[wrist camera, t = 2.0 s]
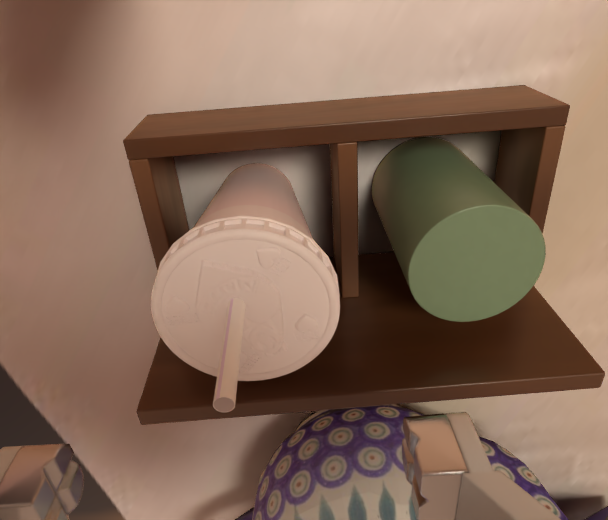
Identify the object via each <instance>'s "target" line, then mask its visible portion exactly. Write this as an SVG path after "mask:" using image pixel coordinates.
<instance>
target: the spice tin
mask: <svg viewBox="0 0 608 520" xmlns="http://www.w3.org/2000/svg"><path fill="white" fill-rule="evenodd" d="M372 197H373V202H374V204H375V207H376V209H377V212H378V214H379V217H380V219H381V221H382V224H383V226H384V229H385V231H386V233H387V236H388V238H389V241H390V243H391V245H392V248H393V250H394V253H395V255H396V257H397V260H398V262H399V265H400V267H401V269H402V272H403V274H404V277H405V279H406V281H407V284H408V286H409V289H410V291H411V293H412V295H413V297H414V299H415V300H416V302H417V303H418V304H419V305H420V306H421V307H422V308H423V309H424V310H426V311H427V312H429V313H430V314H432V315H434V316H436V317H438V318H441V319H444V320H449V321H456V322H470V321H477V320H482V319H486V318H489V317H492V316H494V315H497V314H499V313H501V312H503V311H505V310H507V309H508V308H510V307H511V306H513V305H514V304H516V303H517V302H518V301H519V300H521V299H522V298H523V297H524V296H525V295H526V294H527V293H528V292H529V291H530V289H531V288H532V287H533V286H534V284H535V283H536V281H537V279H538V278H539V275H540V273H541V271H542V268H543V265H544V261H545V242H544V238H543V235H542V232H541V230H540V229H539V227H538V225H537V224H536V223H535V222H534V220H533V219H532V218H531V217H530V216H529V215H527V214H526V213H525V212H524V211H523V210H522V209H521V208H520V207H519V206H518V205H517V204H516V203H515V202H514V201H513V200H512V199H511V198H510V197H509V196H508V195H507V194H506V193H504V192H503V191H502V190H501V189H500V188H499V187H498V186H497V185H496V184H495V183H494V182H493V181H492V180H491V179H490V178H489V177H488V176H487V175H486V174H485V173H484V172H483V171H482V170H480V169H479V168H478V167H477V166H476V165H475V164H474V163H473V162H472V161H471V160H470V159H469V158H468V157H467V156H466V155H465V154H464V153H463V152H462V151H461V150H460V149H458V148H457V147H456V146H455V145H454V144H452V143H450V142H448V141H446V140H444V139H440V138H435V137H421V138H416V139H412V140H409V141H407V142H404V143H402V144H401V145H399V146H397V147H396V148H394V149H393V150H392V151H391V152H390V153H388V154H387V155H386V157H385V158H384V159H383V160H382V162H381V163H380V164H379V166H378V168H377V170H376V172H375V175H374V178H373V183H372Z"/></svg>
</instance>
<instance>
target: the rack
mask: <svg viewBox="0 0 608 520" xmlns="http://www.w3.org/2000/svg"><path fill="white" fill-rule="evenodd" d="M569 108H570V105H568V104H566V103H564V102H561V101H559V100H557V99H555V98H552V97H550V96H548V95H546V94H543V93H541V92H539V91H537V90H534V89H532V88H530V87H527V86H525V85H520V86H508V87H495V88H482V89H470V90H457V91H444V92H432V93H419V94H406V95H394V96H381V97H368V98H355V99H343V100H330V101H317V102H305V103H292V104H279V105H267V106H254V107H241V108H229V109H216V110H203V111H191V112H178V113H165V114H153V115H147V116H146V117H145V118H144V119H143V120H142V121H141V122H140V123H139V124H138V126H137V127H136V128H135V129H134V130H133V131H132V132H131V133H130V134H129V135H128V136H127V137H126V138H125V139H124V140H123V143H124V146H125V150H126V154H127V158H128V159H129V164H130V168H131V172H132V175H133V179H134V183H135V187H136V190H137V194H138V198H139V202H140V206H141V209H142V213H143V217H144V221H145V224H146V228H147V232H148V236H149V239H150V243H151V247H152V251H153V255H154V258H155V262H156V266H157V270H158V268H159V265H160V262H161V260H162V259H163V257H164V256H165V254H166V253H167V252H168V250H169V249H170V247H171V246H172V244H173V243H174V242H176V241H177V240H178V239H179V238H181V237H182V236H183V235H185V234H186V233H187V232H188V231H189V228H188V223H187V218H186V214H185V209H184V204H183V200H182V195H181V190H180V186H179V181H178V176H177V172H176V167H175V162H174V158H173V156H183V155H195V154H208V153H221V152H233V151H246V150H258V149H271V148H284V147H296V146H309V145H321V144H330V168H331V193H332V218H333V243H334V257H329V259H330V261H331V263H332V266H333V268H334V270H335V272H336V274H337V278H338V286H339V294H340V297H339V299H340V315H339V321H338V324H337V328H336V330H335V332H334V335H333V337H332V338H331V340H330V342H329V343H328V345H327V346H326V347H325V348H324V350H323V351H322V352H321V353H320V354H319V355H318V356H317V357H316V358H314V359H313V360H312V361H311V362H309V363H308V364H306V365H305V366H303V367H301V368H300V369H298V370H296V371H293V372H291V373H289V374H286V375H283V376H280V377H276V378H272V379H267V380H258V381H238V383H237V392H236V402H235V408H234V409H233V410H232V411H230V412H219V411H217V410H216V409H215V408H214V407H213V400H214V393H215V387H216V380H217V377H216V376H212V375H210V374H207V373H204V372H202V371H200V370H198V369H196V368H194V367H192V366H190V365H189V364H187V363H186V362H184V361H183V360H181V359H180V358H179V357H178V356H177V355H175V354H174V353H173V352H172V351H171V350H170V349H169V347H168V346H167V345H166V344H165V342H164V341H163V340H162V338H160V341H159V344H158V347H157V350H156V353H155V356H154V359H153V362H152V365H151V368H150V371H149V374H148V377H147V381H146V384H145V387H144V390H143V393H142V396H141V399H140V402H139V405H138V408H137V414H138V417H139V420H140V423H141V424H142V425H146V424H159V423H171V422H183V421H196V420H208V419H220V418H232V417H245V416H257V415H269V414H282V413H294V412H306V411H318V410H331V409H343V408H355V407H368V406H380V405H392V404H405V403H417V402H429V401H441V400H454V399H466V398H478V397H491V396H503V395H515V394H527V393H540V392H552V391H564V390H577V389H589V388H599V387H601V384H602V381H603V378H604V376H605V372H604V371H603V370H602V368H601V367H600V366H599V365H598V363H597V362H596V361H595V360H594V359H593V357H592V356H591V355H590V354H589V353H588V351H587V350H586V349H585V348H584V346H583V345H582V344H581V343H580V342H579V340H578V339H577V338H576V337H575V335H574V334H573V333H572V332H571V331H570V329H569V328H568V327H567V326H566V325H565V323H564V322H563V321H562V320H561V318H560V317H559V316H558V315H557V314H556V312H555V311H554V310H553V309H552V308H551V306H550V305H549V304H548V303H547V301H546V300H545V299H544V298H543V297H542V295H541V294H540V293H539V292H538V291H537V289H536V288H535V287H534V286H533V287H532V288H531V289H530V291H529V292H528V293H527V294H526V295H525V296H524V297H523V298H522V299H521V300H519V301H518V302H517V303H516V304H514V305H513V306H511V307H510V308H508V309H507V310H505V311H503V312H501V313H499V314H497V315H494V316H492V317H489V318H486V319H482V320H477V321H470V322H456V321H449V320H444V319H441V318H438V317H436V316H434V315H432V314H430V313H429V312H427V311H426V310H424V309H423V308H422V307H421V306H420V305H419V304H418V303H417V302H416V300H415V299H414V297H413V295H412V293H411V291H410V289H409V286H408V284H407V281H406V279H405V277H404V274H403V272H402V269H401V267H400V265H399V262H398V260H397V257H396V255H395V253H394V252H387V253H375V254H362V255H358V164H357V142H359V141H372V140H385V139H397V138H410V137H422V136H435V135H448V134H460V133H473V132H486V131H498V130H502V133H501V140H500V147H499V154H498V160H497V167H496V174H495V181H494V183H495V184H496V185H497V186H498V187H499V188H500V189H501V190H502V191H503V192H504V193H506V194H507V195H508V196H509V197H510V198H511V199H512V200H513V201H514V202H515V203H516V204H517V205H518V206H519V207H520V208H521V209H522V210H523V211H524V212H525V213H526V214H527V215H529V216H530V217H531V218H532V219H533V220H534V222H535V223H536V224H537V225H538V227H539V229H540V230H541V232H542V233H543V229H544V224H545V219H546V215H547V210H548V205H549V201H550V196H551V191H552V187H553V182H554V177H555V173H556V168H557V163H558V159H559V154H560V149H561V145H562V140H563V135H564V131H565V125H566V122H567V117H568V112H569Z"/></svg>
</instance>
